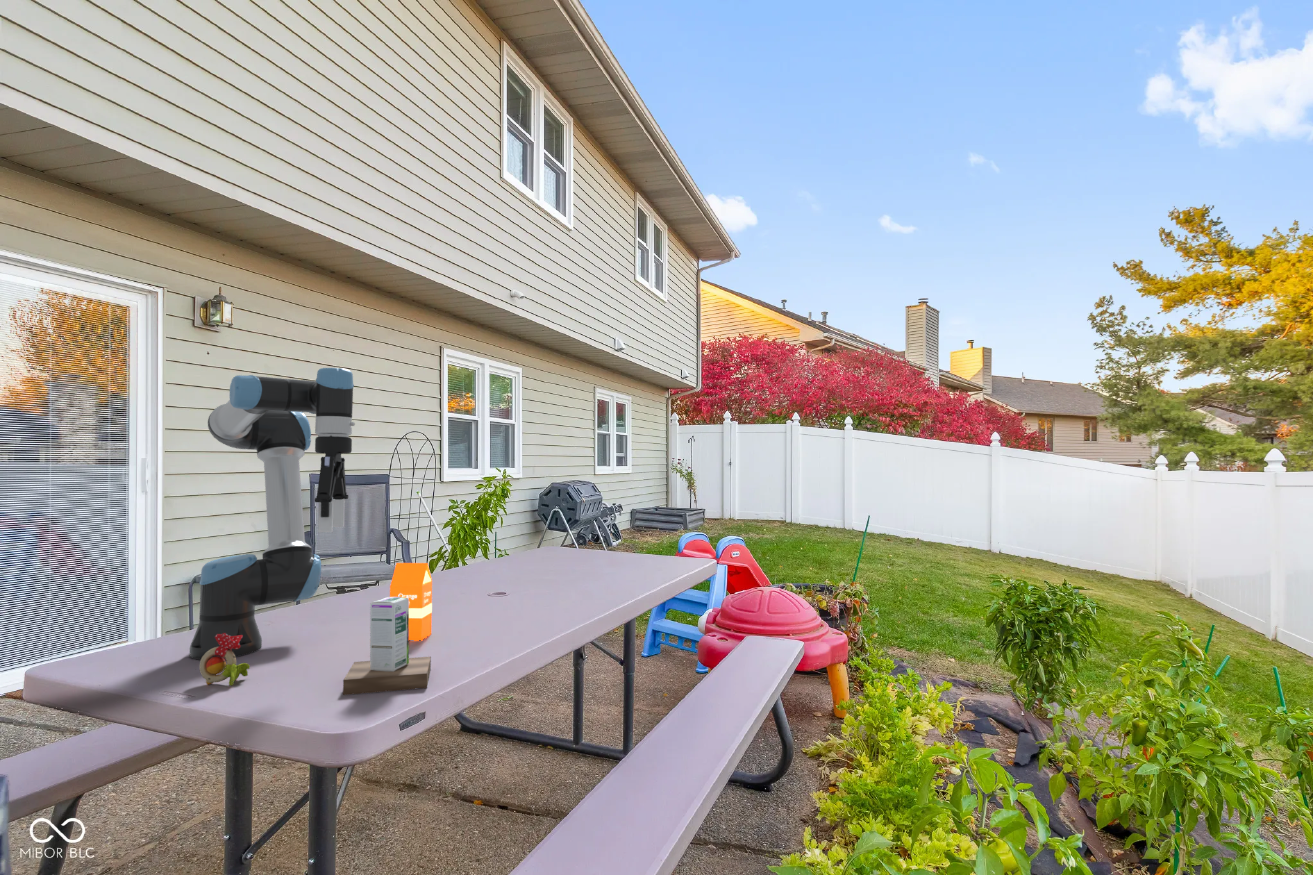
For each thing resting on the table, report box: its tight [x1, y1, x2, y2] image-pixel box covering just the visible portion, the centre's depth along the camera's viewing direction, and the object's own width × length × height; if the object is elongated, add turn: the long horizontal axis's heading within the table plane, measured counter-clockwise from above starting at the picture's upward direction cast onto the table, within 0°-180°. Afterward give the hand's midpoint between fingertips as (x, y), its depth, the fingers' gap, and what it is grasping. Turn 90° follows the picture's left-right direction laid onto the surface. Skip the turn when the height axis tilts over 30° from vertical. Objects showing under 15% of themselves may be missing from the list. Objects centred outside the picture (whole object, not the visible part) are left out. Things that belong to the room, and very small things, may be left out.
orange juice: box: [389, 562, 433, 642], centre depth 181 cm, size 8×9×20 cm
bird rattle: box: [199, 633, 251, 687], centre depth 142 cm, size 6×11×9 cm
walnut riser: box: [342, 656, 432, 696], centre depth 143 cm, size 13×16×3 cm
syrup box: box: [369, 596, 410, 672], centre depth 143 cm, size 6×6×14 cm
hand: (331, 529), depth 151 cm, fingers open, 13 cm apart
